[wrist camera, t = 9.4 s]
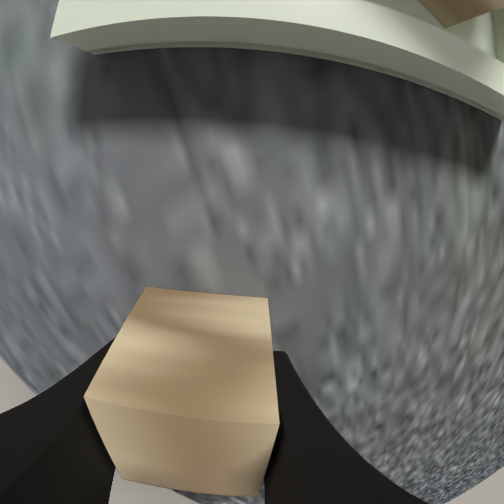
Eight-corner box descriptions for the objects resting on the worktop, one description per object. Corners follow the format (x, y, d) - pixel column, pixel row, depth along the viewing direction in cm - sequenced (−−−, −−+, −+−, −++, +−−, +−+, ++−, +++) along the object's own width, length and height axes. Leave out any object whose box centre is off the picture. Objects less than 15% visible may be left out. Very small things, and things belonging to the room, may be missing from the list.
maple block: (155, 374, 11) (122, 478, 7) (146, 286, 10) (83, 396, 5) (255, 384, 11) (257, 496, 7) (267, 298, 10) (279, 423, 5)
